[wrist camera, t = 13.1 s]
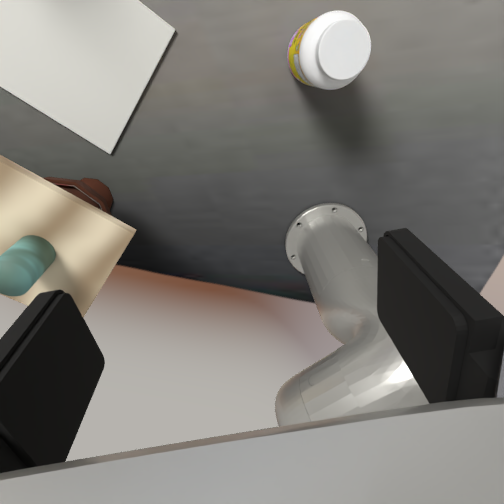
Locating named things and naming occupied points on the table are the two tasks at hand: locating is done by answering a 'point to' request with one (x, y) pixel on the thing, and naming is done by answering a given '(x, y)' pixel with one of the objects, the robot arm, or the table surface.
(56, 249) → the lid
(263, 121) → the table surface
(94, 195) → the ice cream bowl
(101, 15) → the mat
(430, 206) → the table surface
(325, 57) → the supplement bottle
